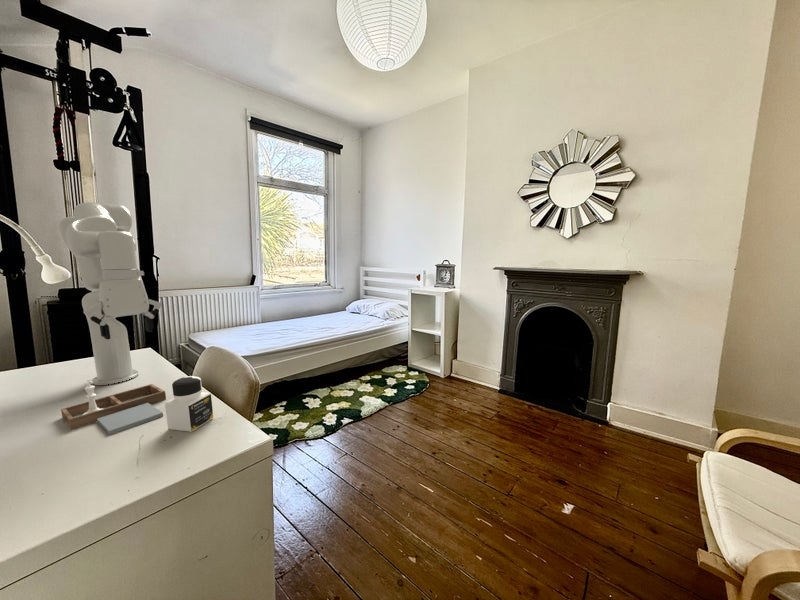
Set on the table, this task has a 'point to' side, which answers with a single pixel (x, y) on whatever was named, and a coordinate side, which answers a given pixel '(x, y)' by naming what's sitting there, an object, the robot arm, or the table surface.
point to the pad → (129, 418)
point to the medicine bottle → (188, 405)
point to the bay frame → (111, 400)
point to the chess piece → (91, 397)
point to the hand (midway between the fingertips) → (129, 335)
